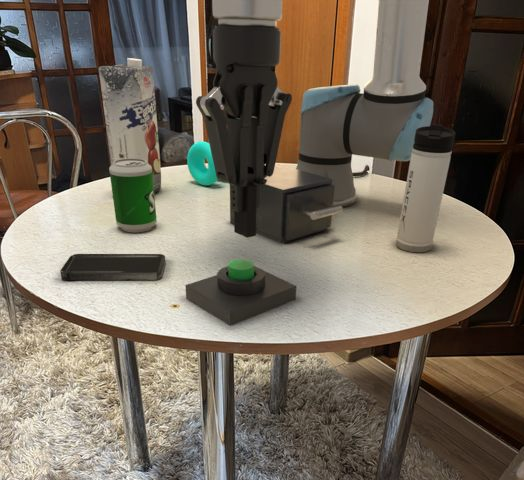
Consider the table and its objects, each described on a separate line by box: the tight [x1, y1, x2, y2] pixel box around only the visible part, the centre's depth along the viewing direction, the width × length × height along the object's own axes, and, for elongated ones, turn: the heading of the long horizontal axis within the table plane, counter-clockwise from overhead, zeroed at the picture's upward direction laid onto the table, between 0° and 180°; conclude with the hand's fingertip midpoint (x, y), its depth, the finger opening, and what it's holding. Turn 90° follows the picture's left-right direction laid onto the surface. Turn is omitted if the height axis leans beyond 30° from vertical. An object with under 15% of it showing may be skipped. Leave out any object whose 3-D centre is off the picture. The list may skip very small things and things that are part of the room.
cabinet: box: [229, 164, 332, 244], centre depth 97 cm, size 15×13×10 cm
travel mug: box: [395, 123, 456, 253], centre depth 87 cm, size 6×7×20 cm
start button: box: [227, 258, 255, 280], centre depth 70 cm, size 4×4×2 cm
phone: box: [59, 253, 167, 281], centre depth 80 cm, size 8×1×15 cm
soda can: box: [108, 158, 157, 233], centre depth 94 cm, size 8×8×12 cm
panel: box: [185, 265, 297, 326], centre depth 72 cm, size 12×10×4 cm
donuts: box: [186, 140, 219, 186], centre depth 124 cm, size 10×10×10 cm
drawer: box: [283, 185, 344, 240], centre depth 95 cm, size 18×11×8 cm, turn 42°
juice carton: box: [98, 57, 162, 194], centre depth 109 cm, size 9×10×27 cm
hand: (245, 233), depth 68 cm, fingers closed
